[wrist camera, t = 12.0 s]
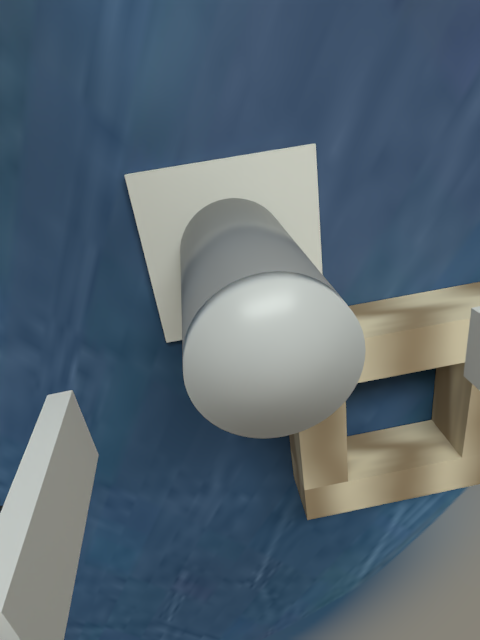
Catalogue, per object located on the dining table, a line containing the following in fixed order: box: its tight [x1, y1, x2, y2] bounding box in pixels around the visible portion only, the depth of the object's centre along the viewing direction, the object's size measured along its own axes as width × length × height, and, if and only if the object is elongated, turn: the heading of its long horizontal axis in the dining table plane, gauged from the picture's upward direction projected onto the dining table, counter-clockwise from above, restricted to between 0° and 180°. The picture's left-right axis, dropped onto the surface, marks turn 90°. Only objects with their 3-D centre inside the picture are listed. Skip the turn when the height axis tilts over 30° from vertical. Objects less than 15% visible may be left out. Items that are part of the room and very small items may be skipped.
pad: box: [124, 144, 322, 343], centre depth 25 cm, size 10×10×1 cm
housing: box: [289, 282, 480, 520], centre depth 29 cm, size 14×14×4 cm
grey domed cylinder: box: [180, 198, 365, 438], centre depth 19 cm, size 6×6×12 cm
